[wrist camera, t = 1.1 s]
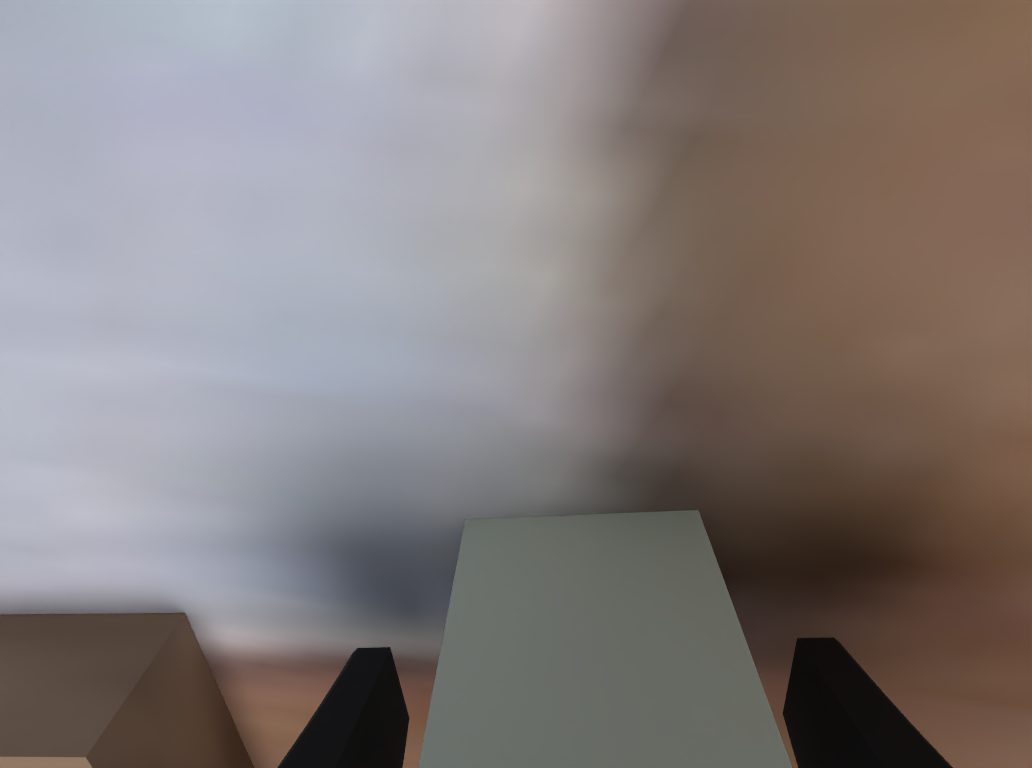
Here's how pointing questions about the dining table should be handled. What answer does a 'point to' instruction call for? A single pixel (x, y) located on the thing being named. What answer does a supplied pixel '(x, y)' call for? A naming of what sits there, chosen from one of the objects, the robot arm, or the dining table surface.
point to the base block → (110, 694)
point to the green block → (595, 651)
